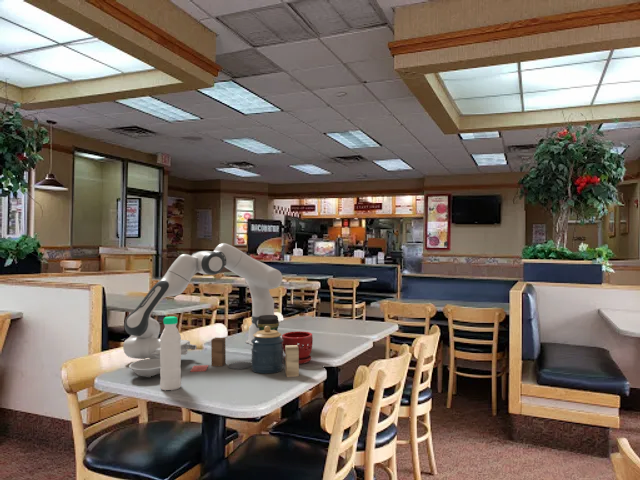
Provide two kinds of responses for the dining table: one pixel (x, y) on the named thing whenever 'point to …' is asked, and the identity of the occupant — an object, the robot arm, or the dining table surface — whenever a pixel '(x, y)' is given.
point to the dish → (146, 367)
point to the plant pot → (303, 339)
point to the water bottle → (170, 355)
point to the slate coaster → (240, 365)
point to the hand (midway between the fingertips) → (191, 349)
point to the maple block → (292, 360)
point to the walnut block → (218, 351)
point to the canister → (267, 351)
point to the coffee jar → (268, 322)
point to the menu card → (199, 368)
